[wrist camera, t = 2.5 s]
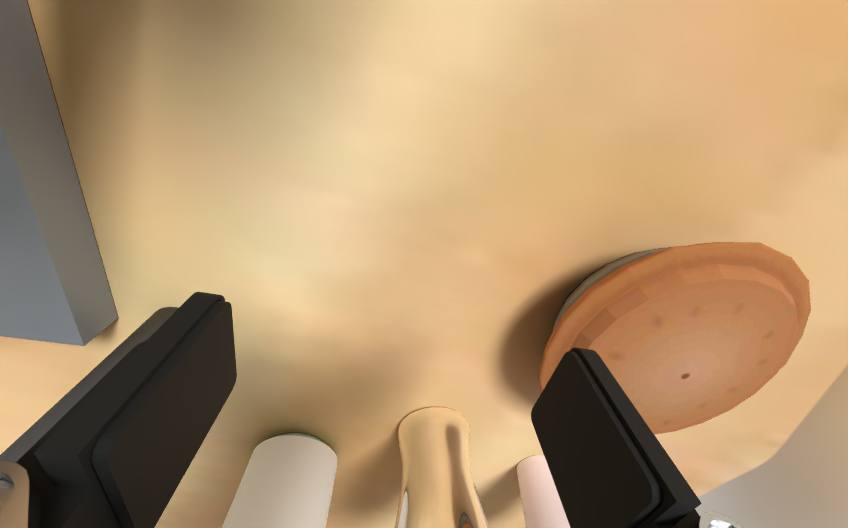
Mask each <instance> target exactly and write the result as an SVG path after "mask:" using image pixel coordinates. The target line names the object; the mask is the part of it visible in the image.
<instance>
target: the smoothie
mask: <svg viewBox="0 0 848 528" xmlns="http://www.w3.org/2000/svg"><path fill="white" fill-rule="evenodd" d="M516 469H517V475H518V482H519V488H520V494H521V500H522V506H523V513H524V519H525V525H526V528H570V525H569V522H568V520H567V517H566V514H565V511H564V509H563V506H562V503H561V500H560V498H559V495H558V492H557V489H556V486H555V484H554V481H553V478H552V475H551V473H550V470H549V467H548V464H547V462H546V459H545V456H544V455H535V456H530V457H528V458H525V459H523V460H522V461H521V462H520V463H519V464H518V465H517V468H516Z"/></svg>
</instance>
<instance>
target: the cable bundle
mask: <svg viewBox="0 0 848 528" xmlns="http://www.w3.org/2000/svg"><path fill="white" fill-rule="evenodd" d="M177 309H178V308H175V307H166V308H162V309H159V310H158V311H156V312H155V313H154V314H153V315H152V316H151V317H150V318H149V319H148V320H146V321H145V322H144V323H143V324H142V325H141V326H140V327H139V328H138V329H137V330H136V331H135V332H133V333H132V334H131V335H130V336H129V337H128V338H127V339H126V340H125V341H124V342H123V343H122V344H120V345H119V346H118V347H117V348H116V349H115V350H114V351H113V352H112V353H111V354H110V355H108V356H107V357H106V358H105V359H104V360H103V361H102V362H101V363H100V364H99V365H98V366H97V367H95V368H94V369H93V370H92V371H91V372H90V373H89V374H88V375H87V376H86V377H85V378H84V379H82V380H81V381H80V382H79V383H78V384H77V385H76V386H75V387H74V388H73V389H72V390H70V391H69V392H68V393H67V394H66V395H65V396H64V397H63V398H62V399H61V400H60V401H59V402H57V403H56V404H55V405H54V406H53V407H52V408H51V409H50V410H49V411H48V412H47V413H45V414H44V415H43V416H42V417H41V418H40V419H39V420H38V421H37V422H36V423H35V424H34V425H32V426H31V427H30V428H29V429H28V430H27V431H26V432H25V433H24V434H23V435H22V436H21V437H19V438H18V439H17V440H16V441H15V442H14V443H13V444H12V445H11V446H10V447H9V448H7V449H6V450H5V451H4V452H3V453H2V454H1V455H0V461H7V462H13V463H16V462H17V461H18V460H19V459H20V458H21V457H22V456H23V455H24V454H25V453H26V452H27V451H28V450H29V449H30V448H31V447H32V446H33V445H34V444H35V443H36V442H37V441H38V440H39V439H40V438H41V437H42V436H43V435H44V434H45V433H47V432H48V431H49V430H50V429H51V428H52V427H53V426H54V425H55V424H56V423H57V422H58V421H59V420H60V419H61V418H62V417H63V416H64V415H65V414H66V413H67V412H68V411H69V410H70V409H71V408H72V407H73V406H74V405H75V404H76V403H77V402H78V401H79V400H80V399H81V398H82V397H83V396H84V395H85V394H86V393H87V392H89V391H90V390H91V389H92V388H93V387H94V386H95V385H96V384H97V383H98V382H99V381H100V380H101V379H102V378H103V377H104V376H105V375H106V374H107V373H108V372H109V371H110V370H111V369H112V368H113V367H114V366H115V365H116V364H117V363H118V362H119V361H120V360H121V359H122V358H123V357H124V356H125V355H126V354H127V353H128V352H129V351H131V350H132V349H133V348H134V347H135V346H136V345H138V344H139V343H141V342H143V341H146V340H147V339H148V338H149V337H150V336H151V335H152V334H153V333H154V332H155V331H156V330H157V329H158V328H159V327H160V326H161V325H162V324H163V323H164V322H165V321H166V320H167V319H168V318H169V317H170V316H171V315H172V314H173V313H174V312H175V311H176V310H177Z"/></svg>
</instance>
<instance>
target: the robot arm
mask: <svg viewBox="0 0 848 528" xmlns="http://www.w3.org/2000/svg"><path fill="white" fill-rule="evenodd" d="M236 377H237V373H236V359H235V346H234V333H233V320H232V307H231V304H230V303H229V302H225V299H224V297H223V296H222V295H216V294H209V293H203V292H196V293H194V294H193V295H192V296H191V297H190V298H189V299H188V300H187V301H186V302H185V303H184V304H183V305H182V306H181V307H179V308H178V309H177V310H176V311H175V312H174V313H173V314H172V315H171V316H170V317H169V318H168V319H167V320H166V321H165V322H164V323H163V324H162V325H161V326H160V327H159V328H158V329H157V330H156V331H155V332H154V333H153V334H152V335H151V336H150V337H149V338H148V339H147V340H146V341H143V342H141V343H139V344H138V345H136V346H135V347H134V348H133V349H132V350H131V351H129V352H128V353H127V354H126V355H125V356H124V357H123V358H122V359H121V360H120V361H119V362H118V363H117V364H116V365H115V366H114V367H113V368H112V369H111V370H110V371H109V372H108V373H107V374H106V375H105V376H104V377H103V378H102V379H101V380H100V381H99V382H98V383H97V384H96V385H95V386H94V387H93V388H92V389H91V390H90V391H89V392H87V393H86V394H85V395H84V396H83V397H82V398H81V399H80V400H79V401H78V402H77V403H76V404H75V405H74V406H73V407H72V408H71V409H70V410H69V411H68V412H67V413H66V414H65V415H64V416H63V417H62V418H61V419H60V420H59V421H58V422H57V423H56V424H55V425H54V426H53V427H52V428H51V429H50V430H49V431H48V432H47V433H45V434H44V435H43V436H42V437H41V438H40V439H39V440H38V441H37V442H36V443H35V444H34V445H33V446H32V447H31V448H30V449H29V450H28V451H27V452H26V453H25V454H24V455H23V456H22V457H21V458H20V459H19V460H18V461H17V462H16V463H13V462H7V461H0V528H154V527H155V525H156V524H157V522H158V520H159V518H160V517H161V515H162V513H163V511H164V509H165V508H166V506H167V504H168V502H169V501H170V499H171V497H172V495H173V494H174V492H175V490H176V488H177V487H178V485H179V483H180V481H181V479H182V478H183V476H184V474H185V472H186V471H187V469H188V467H189V465H190V464H191V462H192V460H193V458H194V457H195V455H196V453H197V451H198V449H199V448H200V446H201V444H202V442H203V441H204V439H205V437H206V435H207V434H208V432H209V430H210V428H211V427H212V425H213V423H214V421H215V419H216V418H217V416H218V414H219V412H220V411H221V409H222V407H223V405H224V404H225V402H226V400H227V398H228V397H229V395H230V393H231V391H232V389H233V387H234V385H235V382H236ZM531 419H532V423H533V426H534V428H535V431H536V434H537V437H538V440H539V442H540V445H541V448H542V451H543V453H544V456H545V459H546V462H547V464H548V467H549V470H550V473H551V475H552V478H553V481H554V484H555V486H556V489H557V492H558V495H559V498H560V500H561V503H562V506H563V509H564V511H565V514H566V517H567V520H568V522H569V525H570V528H743V527H742V526H741V525H739V524H738V523H737V522H735V521H734V520H732V519H730V518H728V517H726V516H725V515H722V514H719V513H716V512H705V513H704V514H703V515H702V516H699V515H698V513H697V512H696V510H695V508H696V507H697V506H699V505H700V504H701V502H700V500H699V499H698V497H697V496H696V495H695V493H694V492H693V490H692V489H691V487H690V486H689V484H688V483H687V482H686V480H685V479H684V477H683V476H682V474H681V473H680V471H679V470H678V469H677V467H676V466H675V464H674V463H673V461H672V460H671V458H670V457H669V456H668V454H667V453H666V451H665V450H664V448H663V447H662V445H661V444H660V443H659V441H658V440H657V438H656V437H655V435H654V434H653V432H652V431H651V430H650V428H649V427H648V425H647V424H646V422H645V421H644V419H643V418H642V417H641V415H640V414H639V412H638V411H637V409H636V408H635V406H634V405H633V404H632V402H631V401H630V399H629V398H628V396H627V395H626V393H625V392H624V391H623V389H622V388H621V386H620V385H619V383H618V382H617V380H616V379H615V378H614V376H613V375H612V373H611V372H610V370H609V369H608V367H607V366H606V365H605V363H604V362H603V360H602V359H601V357H600V356H599V354H598V353H597V352H596V351H594V350H590V349H583V348H572V349H571V350H570V351H569V352H566V353H565V354H564V355H563V357H562V359H561V361H560V362H559V364H558V366H557V367H556V369H555V371H554V373H553V374H552V376H551V378H550V379H549V381H548V383H547V385H546V386H545V388H544V390H543V391H542V393H541V395H540V396H539V398H538V400H537V402H536V403H535V405H534V407H533V409H532V412H531Z"/></svg>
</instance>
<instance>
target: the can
mask: <svg viewBox="0 0 848 528" xmlns="http://www.w3.org/2000/svg"><path fill="white" fill-rule="evenodd" d="M337 464H338V460H337V456H336V454H335V453H334V451H333V450H332V449H331V448H330V447H329V446H328V445H326V444H325V443H324V442H323V441H321V440H320V439H318V438H316V437H313V436H311V435H307V434H301V433H287V434H282V435H279V436H275V437H272V438H270V439H267V440H265V441H263V442H261V443H260V444H259V445H258V446H257V447H256V448H255V449H254V451H253V454H252V456H251V458H250V461H249V463H248V466H247V468H246V470H245V473H244V475H243V478H242V480H241V483H240V485H239V487H238V490H237V492H236V495H235V497H234V499H233V502H232V504H231V507H230V509H229V511H228V514H227V516H226V519H225V521H224V523H223V526H222V528H326V524H327V519H328V513H329V508H330V502H331V497H332V491H333V486H334V480H335V475H336V469H337Z"/></svg>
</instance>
